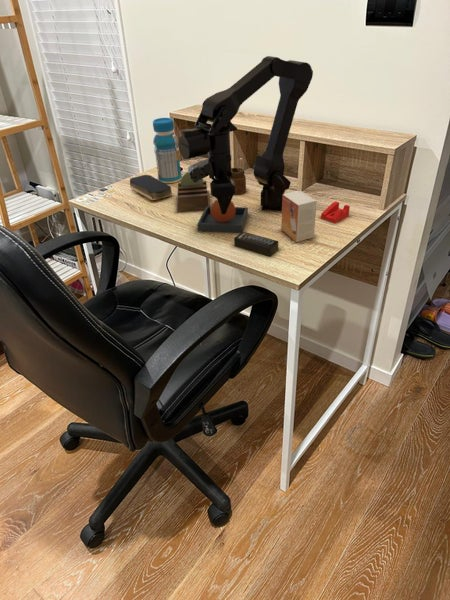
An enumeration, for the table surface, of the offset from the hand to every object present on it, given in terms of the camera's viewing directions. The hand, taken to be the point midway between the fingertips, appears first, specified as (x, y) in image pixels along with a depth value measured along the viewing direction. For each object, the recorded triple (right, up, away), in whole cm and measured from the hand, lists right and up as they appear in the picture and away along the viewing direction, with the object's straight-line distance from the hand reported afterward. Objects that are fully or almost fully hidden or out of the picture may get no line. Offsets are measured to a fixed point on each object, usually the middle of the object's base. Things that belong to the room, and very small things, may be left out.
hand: (222, 206), depth 126 cm
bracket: (+32, -3, +2) cm, 32 cm away
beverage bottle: (-19, +16, +33) cm, 41 cm away
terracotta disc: (0, -1, +1) cm, 1 cm away
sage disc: (-10, +11, +15) cm, 21 cm away
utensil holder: (+4, +9, +21) cm, 24 cm away
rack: (-9, +4, +15) cm, 18 cm away
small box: (+20, -8, -5) cm, 22 cm away
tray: (0, -4, +3) cm, 5 cm away
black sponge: (-24, +9, +24) cm, 35 cm away
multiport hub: (+9, -13, -9) cm, 18 cm away
